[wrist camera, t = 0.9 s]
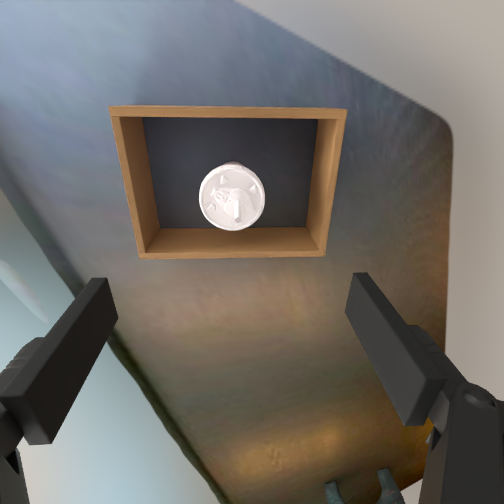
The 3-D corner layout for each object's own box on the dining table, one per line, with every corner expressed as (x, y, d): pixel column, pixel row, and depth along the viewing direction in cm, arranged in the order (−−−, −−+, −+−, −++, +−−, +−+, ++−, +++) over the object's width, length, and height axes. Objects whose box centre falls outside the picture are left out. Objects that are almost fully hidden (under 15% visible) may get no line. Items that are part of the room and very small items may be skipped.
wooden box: (133, 104, 31) (107, 106, 25) (326, 107, 32) (347, 109, 26) (154, 233, 38) (139, 259, 32) (310, 232, 39) (324, 256, 33)
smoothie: (245, 208, 37) (250, 262, 25) (199, 188, 36) (181, 235, 23) (267, 163, 35) (284, 198, 22) (218, 140, 33) (209, 163, 21)
